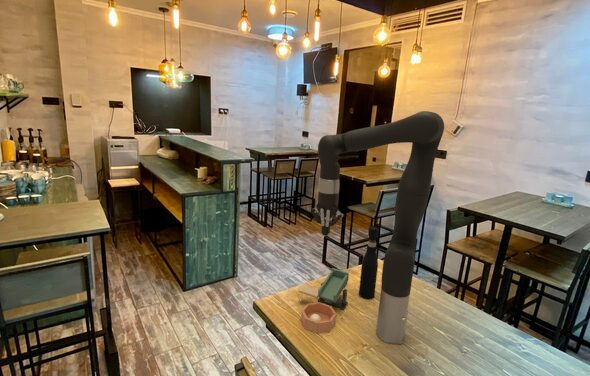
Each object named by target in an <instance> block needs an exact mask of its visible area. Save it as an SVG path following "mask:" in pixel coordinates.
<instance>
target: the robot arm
mask: <svg viewBox="0 0 590 376" xmlns="http://www.w3.org/2000/svg"><path fill="white" fill-rule="evenodd" d="M444 131H445V123H444V119H443V118H442V117H441V115H440V114H438V113H436V112H433V111H428V110H423V111H419V112H416V113H414V114H412V115H409V116H406V117H404V118H402V119H399V120H395V121H392V122H389V123H385V124H380V125H373V126H369V127H363V128H358V129H353V130H349V131H347V132H344V133H337V134H326V135H323V136H322V137H321V138H320V139H319V141H318V145H317V153H318V155H317V156H318V160H319V165H320V169H319V181H318V186H317V189H318V191H317V203H316V206H315V207H314V208H311V209H310V212H311V215H312V216H313V218H314V220H315V222H316V223H317V224H320V225H321V234H322V236H325V237H327V236H328V235H329V234H330V233H331V227H333V226H335V225H336V224H337V223H338V222H339V221H340V220H341V219H342V218H343V217H344V216H345V214H344V213H343V212H342V213H341V211H340V209H339V206H338V205H339V195H340V175H341V174H340V173H341V165H340V163H339V162H338V161H337V157H336V155H340V154H345V153H346V154H347V153H349V152H359V151H365V150H371V149H375V148H378V147H382V146H386V145H391V144H393V145H394V144H401V143H402V144H403V143H405V144H406V143H407V144H408V143H411V151H410V154H409V155H410V156H409V159H408V161H407V164H406V166H405V168H404V170H403V172H402V175H401V176H400V179H399V183H398V186H397V187H398V188H397V190H396V191H397V192H396V197H395V204H394V226H393V232H392V235H391V239H390V241H389V245H388V246H387V249H386V251H385V253H384V257H383V262H382V271H381V280H380V281H381V285H380V287H381V288H380V296H379V304H378V311H377V312H378V313H377V318H376V320H377V321H376V326H375V327H376V329H375V333H376V336H377V338H379V339H380V340H381V341H382V342H385V343H386V344H387V343H388V344H396V345H397V344H399V345H403V342H404V338H405V336H406V330H407V323H408V316H409V304H410V303H409V302H410V296H411V290H412V282H413V276H414V269H415V261H416V246H417V238H418V237H417V236H418V232H419V228H420V226H421V223H422V220H423V218H424V216H425V211H426V209H427V205H428V200H429V195H430V192H431V191H430V190H431V186H432V185H431V184H432V181H433V180H432V179H433V172H434V166H435V165H434V164H435V160H436V156H437V152H438V149H439V146H440V143H441V140H442V138H443V134H444ZM334 216H335V219H334V220H333V217H334ZM332 220H333V221H332Z"/></svg>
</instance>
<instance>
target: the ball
mask: <svg viewBox="0 0 590 376" xmlns="http://www.w3.org/2000/svg"><path fill="white" fill-rule="evenodd" d="M310 319H312V320H315V321H318V322H320V321H321V318H320V316H319V315H317V314H313V315H311V317H310Z"/></svg>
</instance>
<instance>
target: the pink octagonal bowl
mask: <svg viewBox="0 0 590 376" xmlns="http://www.w3.org/2000/svg"><path fill="white" fill-rule="evenodd" d="M313 314H317V315H319V316H320V318H321V321H320V322H318V321H315V320H312V319H310V317H311V315H313ZM300 322H301V323H302V326H303V327H304V329H305V330H307V331H310V332H313V333H315V334H318V335H319V334H323V333H329V332H331V331H332V329H334V326H336V322H337V313H336V311H335V310H334V307H332V306H329V305H326V304H323V303H320V302H318V301H317V302H312V303H306V305H305V306H303V308H302V309H301V313H300Z"/></svg>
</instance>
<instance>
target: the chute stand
mask: <svg viewBox="0 0 590 376" xmlns="http://www.w3.org/2000/svg"><path fill="white" fill-rule="evenodd" d="M322 284H323V282H322V283H320V286H321V285H322ZM341 294H342V296H341V298H338V299H337V301H336V303H335V302H332V301H329V300H326V299H323V298H320V297H318V298H317V302H320V303H323V304H326V305H329V306H331V307H332V308H334V309H338V310H341V311H345V309H346V308H347V307H348V304H349V301H348V300H347V299H348V298H347V297H348V289H346V288H344V289H343V291H342V292H341Z"/></svg>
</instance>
